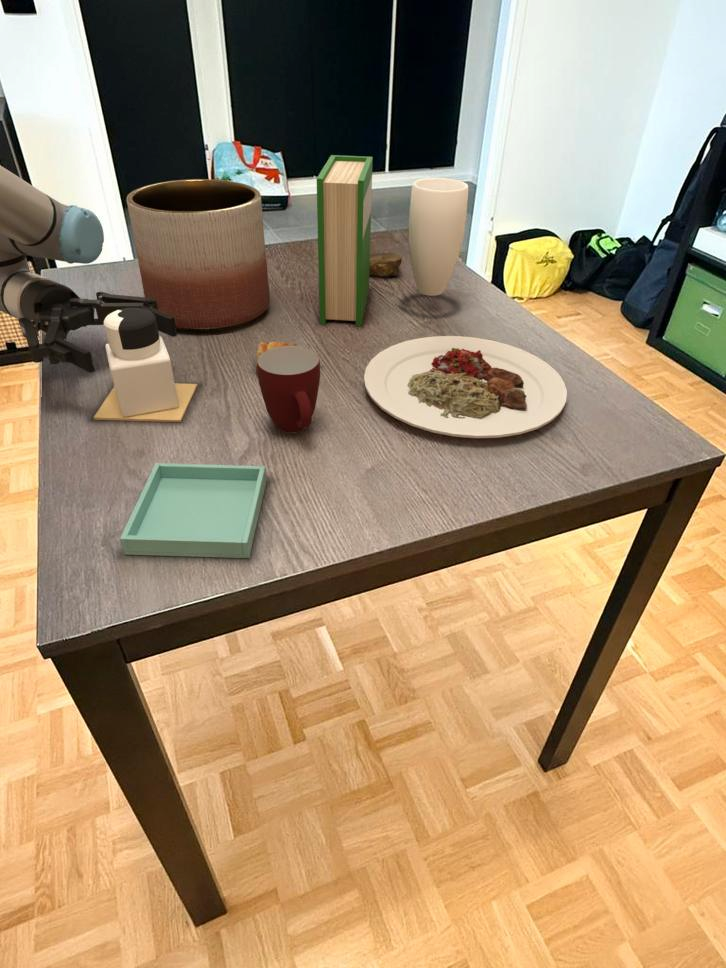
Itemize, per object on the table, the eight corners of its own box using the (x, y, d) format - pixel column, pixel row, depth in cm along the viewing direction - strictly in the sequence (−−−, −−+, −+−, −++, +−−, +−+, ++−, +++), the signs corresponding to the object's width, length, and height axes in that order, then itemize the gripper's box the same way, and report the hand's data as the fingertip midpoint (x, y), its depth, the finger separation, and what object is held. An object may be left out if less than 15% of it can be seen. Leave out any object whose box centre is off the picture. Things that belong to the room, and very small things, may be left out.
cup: (395, 312, 116) (402, 188, 103) (410, 292, 124) (418, 174, 111) (450, 320, 114) (464, 194, 101) (461, 299, 122) (476, 180, 108)
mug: (341, 440, 83) (341, 373, 77) (287, 458, 80) (282, 390, 73) (304, 404, 90) (301, 340, 84) (252, 419, 86) (246, 354, 80)
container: (170, 382, 93) (154, 298, 85) (179, 408, 88) (163, 321, 80) (116, 391, 91) (95, 306, 83) (122, 418, 85) (99, 330, 77)
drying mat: (94, 419, 86) (93, 417, 85) (117, 383, 93) (117, 381, 93) (181, 422, 86) (180, 419, 85) (197, 386, 93) (197, 383, 93)
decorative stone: (349, 275, 131) (349, 258, 129) (357, 260, 138) (357, 244, 136) (398, 279, 130) (399, 262, 128) (404, 264, 137) (405, 247, 135)
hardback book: (360, 326, 111) (363, 180, 96) (319, 323, 112) (316, 178, 97) (368, 289, 125) (372, 156, 110) (332, 287, 125) (331, 155, 110)
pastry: (317, 358, 101) (317, 336, 99) (315, 378, 96) (314, 356, 94) (260, 356, 101) (258, 335, 99) (254, 377, 96) (252, 354, 94)
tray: (124, 554, 66) (119, 538, 64) (159, 477, 76) (155, 462, 74) (249, 558, 66) (247, 542, 64) (266, 481, 76) (265, 465, 74)
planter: (277, 289, 124) (270, 180, 111) (261, 338, 107) (250, 215, 94) (166, 286, 124) (147, 176, 111) (132, 334, 107) (105, 211, 94)
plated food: (416, 467, 79) (418, 445, 77) (335, 362, 100) (335, 343, 98) (607, 422, 88) (614, 402, 86) (495, 335, 110) (498, 317, 107)
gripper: (119, 302, 104) (207, 338, 94) (-29, 356, 88) (58, 405, 78) (109, 257, 99) (200, 289, 89) (-50, 305, 83) (40, 351, 74)
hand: (134, 344), depth 84 cm, fingers open, 13 cm apart
